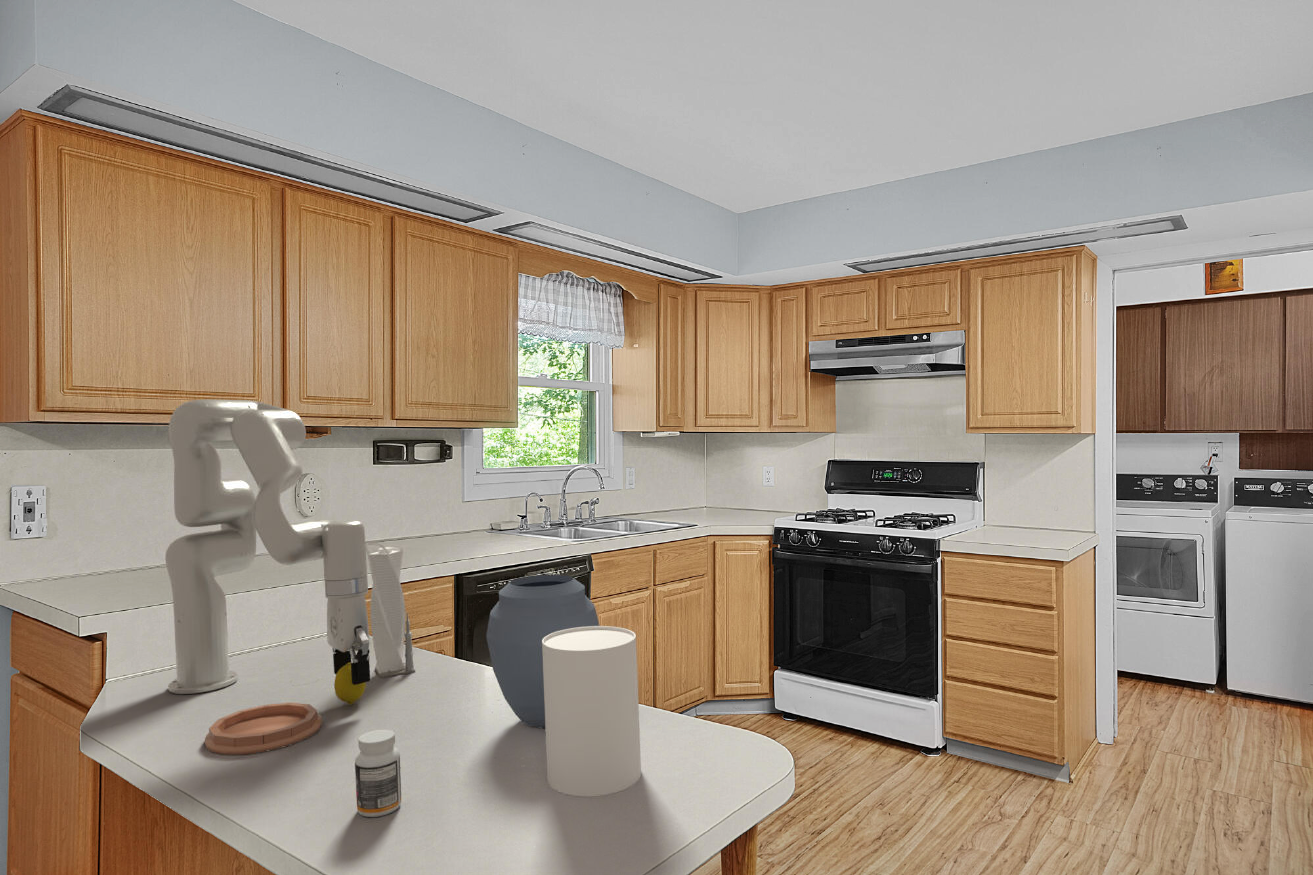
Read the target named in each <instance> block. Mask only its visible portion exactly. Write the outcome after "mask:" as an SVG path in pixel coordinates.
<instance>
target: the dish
mask: <svg viewBox="0 0 1313 875" xmlns="http://www.w3.org/2000/svg"><path fill="white" fill-rule="evenodd" d="M322 720H323V719H322V716H321V715H320V714H319V713H318V709H316V708H315V707H314V706H312V705H311V704H310V703H308V704H307V703H300V702H299V703H298V702H281V703H270V704H262V705H259V706H254V707H250V708H245V709H240V710H238V711H235V712H233V713H230V714H228V715H225V716H224V717H221V718H219V719H217V720H216V721H215V722H214V723H213V724H211V726H210V727H209V728H208V733H207V734H206V735H205V737H204V745H205V746H204V747H205V749H206V750H207V751H208V750H209V752H210V753H213V752H214V753H213V754H218V755H226V756H228V755H230V756H240V755H250V754H251V755H252V754H259V753H258V752H260V753H265V752H264V751H266V752H268V751H267V750H271V751H274V750H273V749H275V750H278V749H277V748H279V749H282V748H281V747H283V746H286V747H288V745H289V746H291V745H290V744H292V745H295V744H297V743H296V742H298V743H299V741H300V742H302V741H305V740H307V739H308V737H309V738H310V737H312V736H313V734H314V735H315V734H316V733H318V731H320V729H321V728H322V724H323V723H322ZM306 738H307V739H306ZM304 739H305V740H304ZM301 740H302V741H301ZM294 743H295V744H294ZM283 748H284V747H283Z"/></svg>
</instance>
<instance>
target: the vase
mask: <svg viewBox="0 0 1313 875" xmlns="http://www.w3.org/2000/svg"><path fill="white" fill-rule="evenodd" d="M585 589H586V586H585V585H584V584H582V583H581V582H580V581H578V580H577V579H575V578H574V577H573V576H570V575H565V574H538V575H537V574H534V575H527V576H521V577H518V578H515V579H511V580H510V581H509V582H508V583H507V584H506V585H505V586H504V587H503V588H501V589H500V590H499V591H498V599H499V600H498V601H497V603H496V604H495V605H494V606H493V608H492V609H491V610H490V613H489V618H488V623H487V631H486V635H485V636H486V641H487V642H486V643H487V647H488V651H489V656H490V661H491V666H492V671H493V673H494V676H495V678H496V681H497V683H498V686H499V688H500V690H501V692H502V693H501V694H502V695H503V698H504V700H505V701H506V703H507V705H508V706H509V707H510V709H511V710H512V712H513V713H514V714H515V716H516V717H517V718H518V719H519V721H521V722H522V723H523V724H525V725H527V726H529V727H532V728H538V729H546V726H545V701H544V676H543V651H542V640H543V638H544V637H546V636H547V635H549V634H551V633H554V632H557V631H561V630H565V629H571V628H577V627H588V626H601V625H600V622H599V618H598V614H597V609H596V606H595V604H594V602H592V600H590V599H589V598H588V597H587V595H586V590H585Z"/></svg>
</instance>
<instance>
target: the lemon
mask: <svg viewBox="0 0 1313 875" xmlns="http://www.w3.org/2000/svg"><path fill="white" fill-rule="evenodd" d="M351 663H352V662H351ZM351 663H347V664H346V665H345V666H343V667H342V668H341V669H340V670H339V671H338V672H337V674H335V677H334V678H335V679H334V683H333V684H334V688H333V689H334V692H335V695H336V697H337V699H339V700H340V701H341V702H343V703H346V704H348V705H349V706H352V705H354V703H355V702H356V701H358V700H359V699H361V698H362V696H363V695H364V693H365V690H366V685H367V682H365V683H361V684H357V685H353V684H352V676H351Z"/></svg>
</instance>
